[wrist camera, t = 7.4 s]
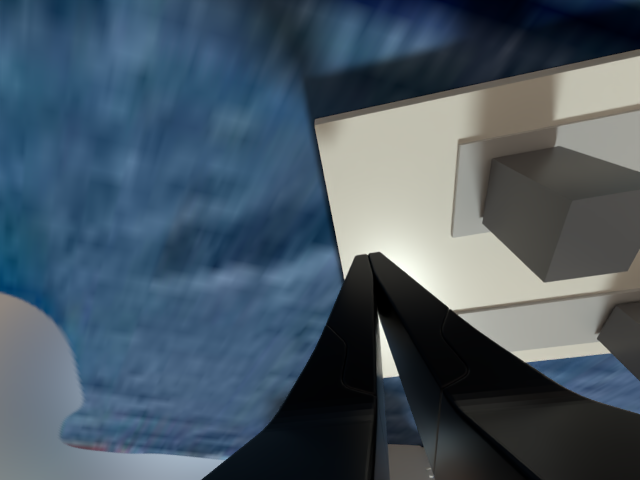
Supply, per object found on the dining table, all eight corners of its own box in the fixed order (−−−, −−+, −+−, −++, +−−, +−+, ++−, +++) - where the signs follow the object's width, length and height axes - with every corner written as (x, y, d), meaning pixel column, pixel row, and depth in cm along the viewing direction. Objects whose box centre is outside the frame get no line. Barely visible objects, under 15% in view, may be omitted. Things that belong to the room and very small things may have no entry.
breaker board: (1009, -31, 9) (1138, -50, 8) (704, 321, 19) (736, 342, 17) (314, 119, 12) (314, 126, 10) (361, 361, 21) (364, 382, 20)
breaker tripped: (559, 145, 10) (675, 183, 7) (540, 213, 12) (627, 271, 9) (491, 158, 11) (572, 200, 7) (482, 223, 12) (544, 282, 9)
